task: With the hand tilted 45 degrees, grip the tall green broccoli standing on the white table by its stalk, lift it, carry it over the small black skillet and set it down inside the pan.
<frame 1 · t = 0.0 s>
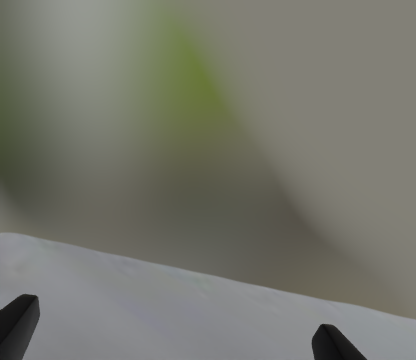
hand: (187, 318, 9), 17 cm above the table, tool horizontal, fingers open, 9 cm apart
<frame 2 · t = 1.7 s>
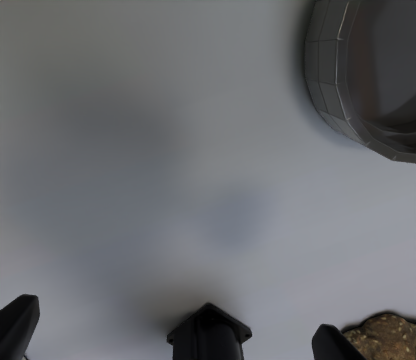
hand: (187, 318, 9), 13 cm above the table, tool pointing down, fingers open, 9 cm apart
pan: (403, 41, 17), on the table
bread roll: (373, 348, 31), on the table
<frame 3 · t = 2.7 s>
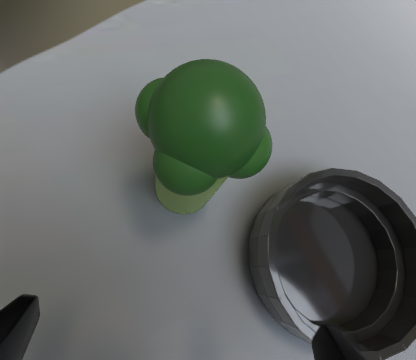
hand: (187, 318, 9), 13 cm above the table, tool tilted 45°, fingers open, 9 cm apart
pan: (319, 256, 24), on the table
broccoli: (183, 186, 23), on the table
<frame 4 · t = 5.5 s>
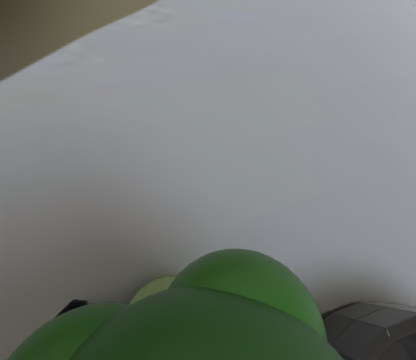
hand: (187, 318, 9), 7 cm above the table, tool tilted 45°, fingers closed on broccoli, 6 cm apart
broccoli: (169, 323, 14), on the table, touching gripper
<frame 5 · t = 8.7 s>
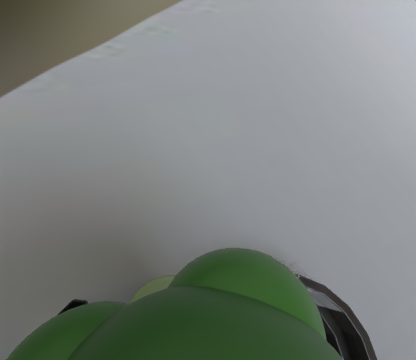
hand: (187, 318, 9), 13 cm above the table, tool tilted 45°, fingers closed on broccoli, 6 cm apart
broccoli: (169, 322, 14), point 6 cm above the table, touching gripper
when the fingers open (7 cm above the table, at t = 12.2 s): broccoli stays where it is, resting on pan.
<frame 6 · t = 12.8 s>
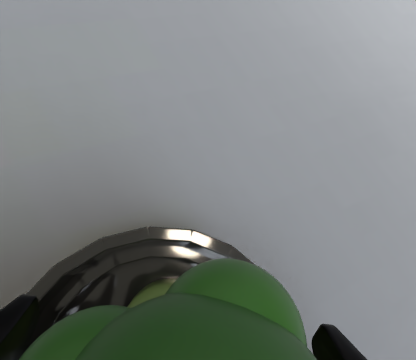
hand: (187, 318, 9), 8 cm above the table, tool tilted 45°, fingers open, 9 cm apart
pan: (156, 357, 15), on the table
broccoli: (167, 323, 15), resting on pan
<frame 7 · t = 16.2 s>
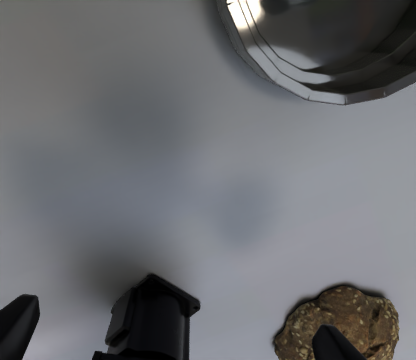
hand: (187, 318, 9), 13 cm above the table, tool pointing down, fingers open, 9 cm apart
bread roll: (333, 323, 30), on the table
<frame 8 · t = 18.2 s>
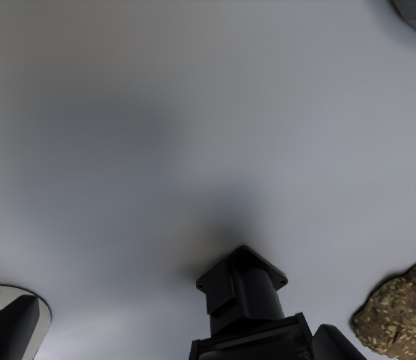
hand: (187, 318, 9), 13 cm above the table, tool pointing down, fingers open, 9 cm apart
milk bottle: (13, 309, 27), on the table
bread roll: (414, 302, 29), on the table
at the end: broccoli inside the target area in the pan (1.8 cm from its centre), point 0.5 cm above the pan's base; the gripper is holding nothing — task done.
